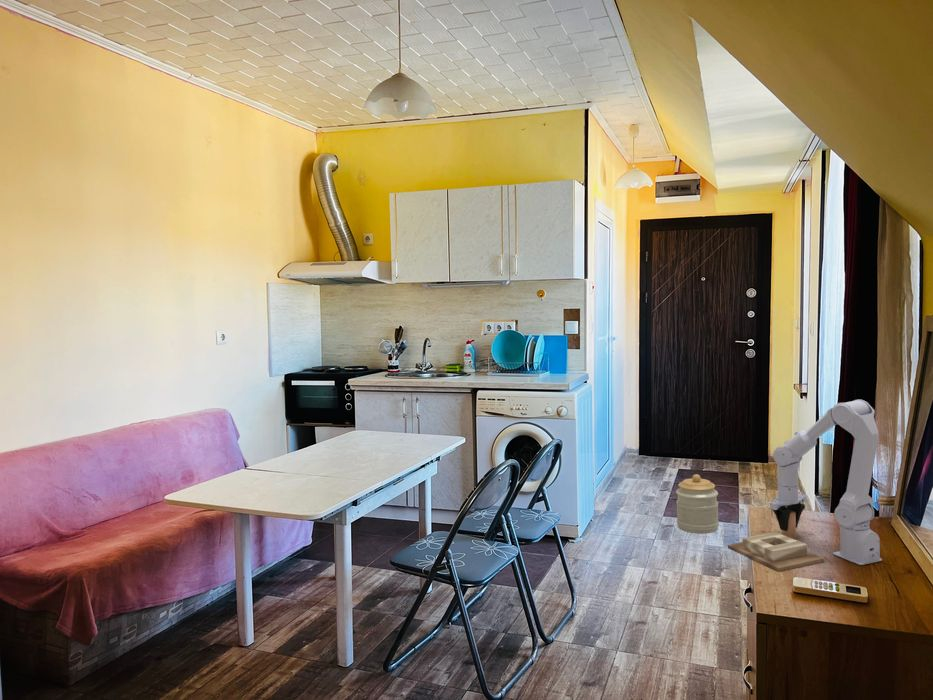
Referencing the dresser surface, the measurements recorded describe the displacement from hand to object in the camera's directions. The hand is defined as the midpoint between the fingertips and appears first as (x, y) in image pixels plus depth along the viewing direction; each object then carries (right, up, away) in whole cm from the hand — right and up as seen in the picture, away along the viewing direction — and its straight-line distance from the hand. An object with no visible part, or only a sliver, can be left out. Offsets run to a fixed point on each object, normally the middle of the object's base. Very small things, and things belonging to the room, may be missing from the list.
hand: (788, 528), depth 213 cm
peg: (0, -3, 0) cm, 3 cm away
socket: (-10, -4, -13) cm, 17 cm away
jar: (-23, -3, +13) cm, 27 cm away
